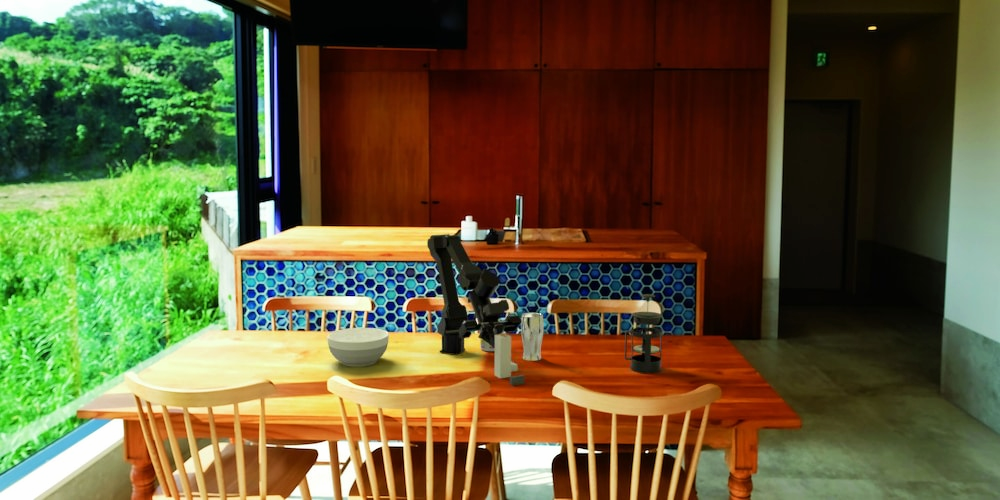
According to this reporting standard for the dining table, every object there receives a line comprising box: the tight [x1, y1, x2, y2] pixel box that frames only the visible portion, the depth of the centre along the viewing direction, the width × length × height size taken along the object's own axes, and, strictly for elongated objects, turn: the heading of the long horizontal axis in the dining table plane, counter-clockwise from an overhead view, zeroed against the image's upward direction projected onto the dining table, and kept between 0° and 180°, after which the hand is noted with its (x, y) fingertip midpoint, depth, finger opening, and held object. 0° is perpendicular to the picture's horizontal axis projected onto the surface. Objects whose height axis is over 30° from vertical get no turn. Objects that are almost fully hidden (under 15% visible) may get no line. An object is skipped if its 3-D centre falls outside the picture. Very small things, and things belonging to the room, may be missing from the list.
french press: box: [624, 293, 663, 374], centre depth 252 cm, size 12×9×23 cm
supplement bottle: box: [480, 319, 501, 352], centre depth 275 cm, size 7×7×13 cm
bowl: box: [326, 327, 390, 368], centre depth 259 cm, size 19×19×9 cm
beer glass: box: [520, 312, 544, 362], centre depth 260 cm, size 7×7×15 cm
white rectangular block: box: [494, 333, 512, 379], centre depth 241 cm, size 4×4×12 cm
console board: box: [509, 360, 525, 387], centre depth 241 cm, size 20×14×3 cm
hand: (499, 350), depth 242 cm, fingers closed, pressing on white rectangular block
